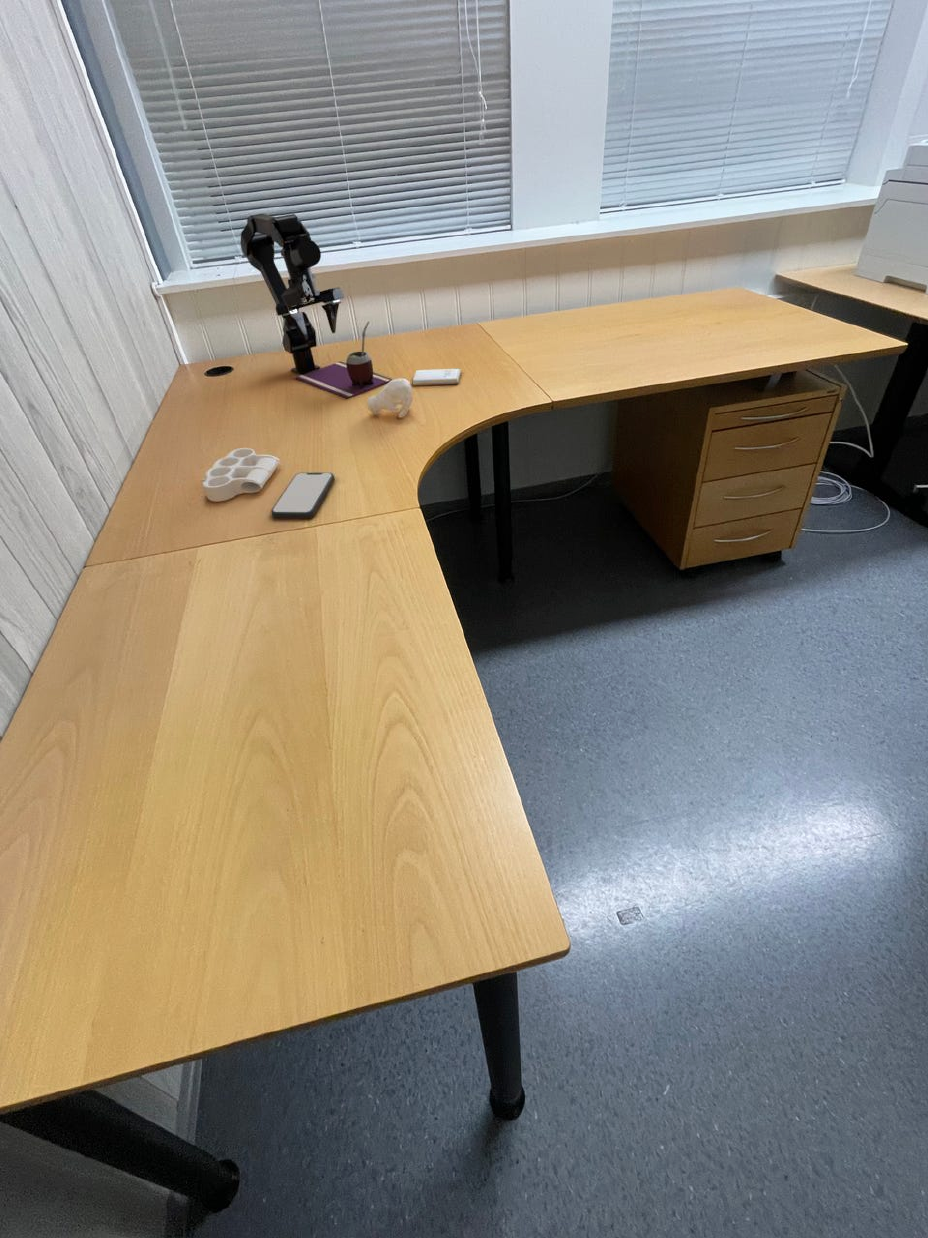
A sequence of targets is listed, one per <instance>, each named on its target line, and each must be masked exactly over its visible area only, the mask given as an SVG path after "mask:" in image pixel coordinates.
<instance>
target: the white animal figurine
mask: <svg viewBox="0 0 928 1238" xmlns="http://www.w3.org/2000/svg"><path fill="white" fill-rule="evenodd" d="M412 402H413V388H412V385H411V382H410V381H408V379H405V378H394V379H393V380H391V381H390V382H389V383H386V384H384V386H383V387H382V388H381V389H379V392H377V393H376V394H374V395H372V396H371V395H370V397H368V398H367V400H366V407H367V409H368V410H369V411H371V412H372V414H373V415H375V416H377V415H379V414H380V412H381V410H385V411H389V412H393V413H395V414H396V413H398V412H399V413H398V418H399V419H402V418H404V417H405V416H406V415H407V414H408V411H409V409H410V407H411V405H412ZM398 405H401V406H402V407H401V408H402V409H401V410H400V411H399V407H397V406H398Z"/></svg>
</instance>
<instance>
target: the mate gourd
mask: <svg viewBox="0 0 928 1238" xmlns="http://www.w3.org/2000/svg"><path fill="white" fill-rule="evenodd" d="M369 324H370V321H367V323H366V324H365V326H364V328H363V330H362V333H361V337H362V339H361V341H362V342H361V351H355V352H354V351H353V352H351V353H349V354H348V355H347V358H346V361H345V364H346V366H347V371H348V374H349V376H350V379H351V381H352V385H360V388H363V386H364V385H366V384H374V381H373V373H374V367H373V360H372V358H371V356H370V355H369V354H368V353H367V352H365V338H366V331H367V329H368V326H369Z"/></svg>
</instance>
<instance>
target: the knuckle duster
mask: <svg viewBox="0 0 928 1238" xmlns="http://www.w3.org/2000/svg"><path fill="white" fill-rule="evenodd" d="M255 451H256V450H254V449H252V448H250V447H241V448H235V449H233V450H231V451H229V453H228V454H227V455H226V456H224V457H222V458H218V460H217V461H215V462H214V463H213V466H212V467H210V468H209V469H207V470H206V473H205V477H204V478H203V479H202V480H201V482H202V487H203V489H204V492H205V494H206V497H207V499H208V500H209V501H210V502H215V503H216V502H225V501H228V500H231V499H233V498H235V497H236V496H238V495H242V494H253V493H258V492H260V491H261V490H263V488H264V486H265V485H266V483H267V482H268V480H269V479H270V478H271V477H272V476H273V473H274V472H275V471H276V469H277V468H278V467H279V466H280V465H281V460H280V459H279V457H277V456H274V455H271V454H257V453H256V452H255Z"/></svg>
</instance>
